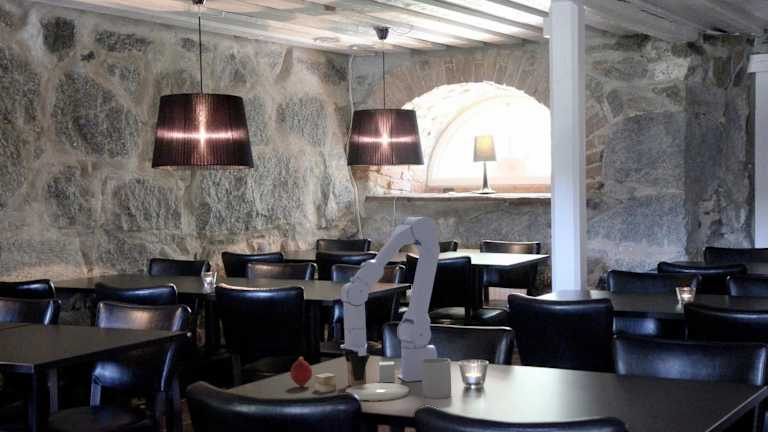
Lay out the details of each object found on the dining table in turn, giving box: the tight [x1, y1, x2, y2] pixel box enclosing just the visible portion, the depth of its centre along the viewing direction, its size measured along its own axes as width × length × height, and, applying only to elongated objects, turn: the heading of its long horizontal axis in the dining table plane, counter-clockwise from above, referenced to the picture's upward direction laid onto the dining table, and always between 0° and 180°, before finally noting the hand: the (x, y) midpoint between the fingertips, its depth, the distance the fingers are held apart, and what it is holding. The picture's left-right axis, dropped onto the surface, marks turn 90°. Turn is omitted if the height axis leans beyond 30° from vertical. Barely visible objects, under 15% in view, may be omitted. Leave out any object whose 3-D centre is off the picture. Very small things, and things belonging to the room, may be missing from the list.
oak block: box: [314, 372, 337, 393], centre depth 258 cm, size 4×4×4 cm
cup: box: [421, 357, 452, 400], centre depth 247 cm, size 7×10×9 cm
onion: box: [290, 356, 313, 388], centre depth 263 cm, size 6×6×8 cm
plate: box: [345, 382, 410, 402], centre depth 251 cm, size 16×16×1 cm
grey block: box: [378, 361, 396, 383], centre depth 267 cm, size 4×4×5 cm
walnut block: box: [346, 361, 367, 387], centre depth 262 cm, size 4×4×6 cm
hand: (356, 378), depth 263 cm, fingers closed on walnut block, 4 cm apart
